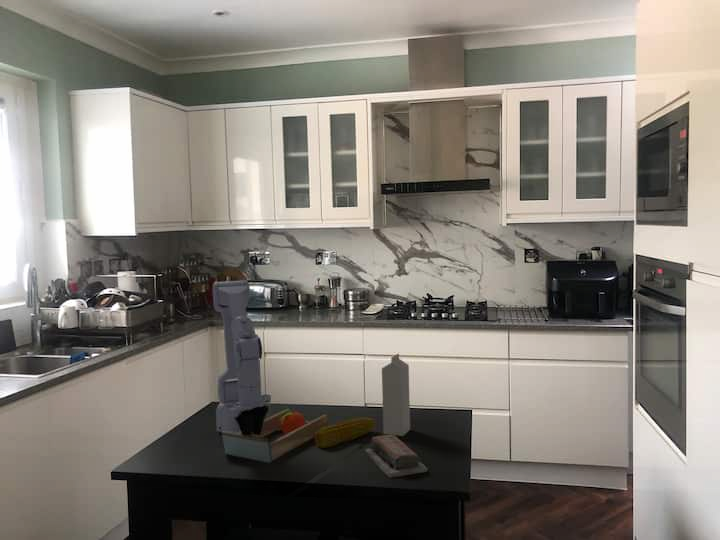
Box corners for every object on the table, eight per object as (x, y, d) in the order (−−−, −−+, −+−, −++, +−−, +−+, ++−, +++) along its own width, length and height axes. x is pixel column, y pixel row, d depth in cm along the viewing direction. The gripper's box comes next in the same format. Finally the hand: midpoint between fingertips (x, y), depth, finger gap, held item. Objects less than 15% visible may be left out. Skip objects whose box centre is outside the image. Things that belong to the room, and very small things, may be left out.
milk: (410, 429, 184) (409, 353, 182) (403, 436, 179) (402, 358, 177) (390, 427, 187) (389, 352, 185) (382, 434, 181) (381, 356, 179)
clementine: (284, 443, 176) (283, 418, 175) (273, 436, 182) (272, 412, 181) (310, 437, 180) (309, 412, 180) (299, 430, 186) (298, 406, 185)
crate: (228, 455, 168) (227, 436, 168) (287, 425, 191) (287, 408, 191) (272, 464, 161) (271, 444, 161) (327, 431, 184) (327, 414, 184)
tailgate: (225, 454, 167) (221, 432, 165) (227, 452, 168) (223, 430, 166) (268, 463, 160) (265, 439, 159) (271, 461, 161) (267, 438, 159)
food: (326, 454, 168) (325, 432, 167) (311, 449, 172) (311, 427, 171) (379, 432, 183) (378, 412, 183) (364, 428, 187) (364, 408, 186)
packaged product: (363, 435, 167) (399, 430, 171) (364, 454, 168) (399, 448, 171) (389, 459, 150) (427, 453, 154) (389, 480, 151) (428, 473, 154)
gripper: (243, 393, 156) (246, 448, 157) (279, 379, 168) (281, 430, 170) (221, 390, 159) (224, 444, 160) (257, 377, 172) (260, 426, 173)
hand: (252, 436), depth 165 cm, fingers open, 3 cm apart
